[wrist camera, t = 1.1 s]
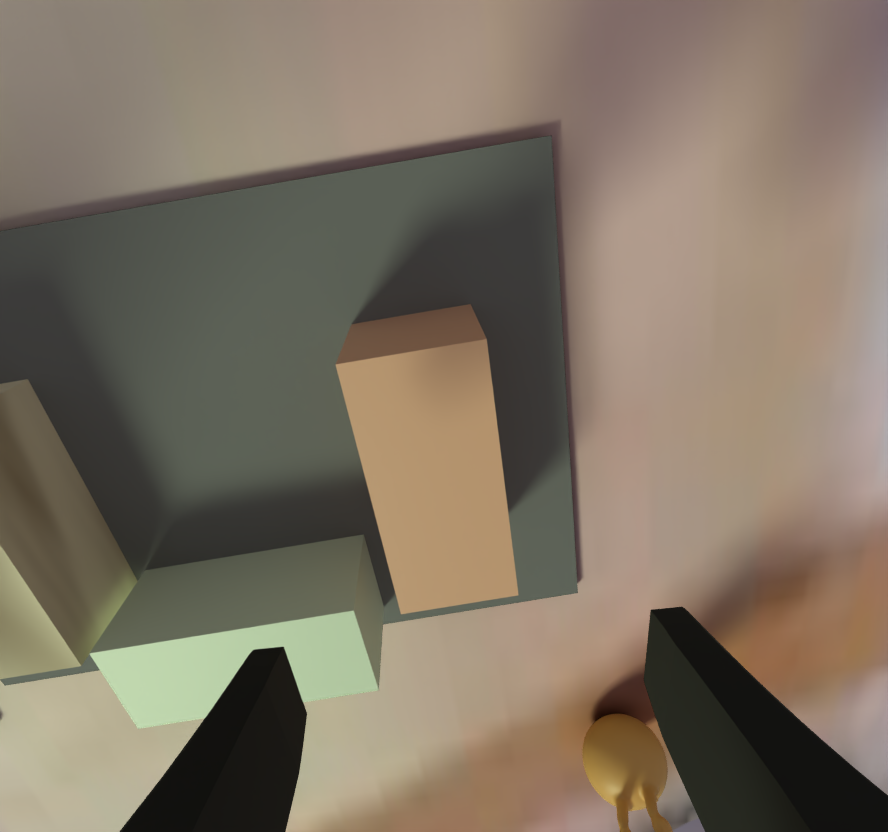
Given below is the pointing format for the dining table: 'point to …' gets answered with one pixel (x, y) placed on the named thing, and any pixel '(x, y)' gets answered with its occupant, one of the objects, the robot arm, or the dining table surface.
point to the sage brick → (244, 628)
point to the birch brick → (50, 547)
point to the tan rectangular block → (431, 455)
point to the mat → (289, 354)
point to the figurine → (626, 767)
